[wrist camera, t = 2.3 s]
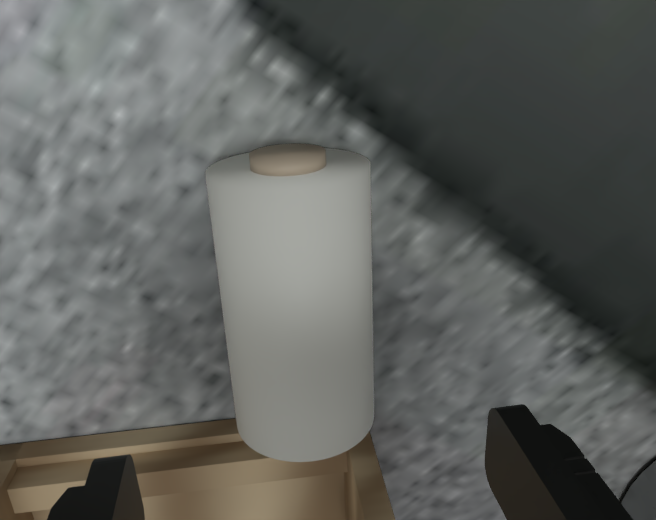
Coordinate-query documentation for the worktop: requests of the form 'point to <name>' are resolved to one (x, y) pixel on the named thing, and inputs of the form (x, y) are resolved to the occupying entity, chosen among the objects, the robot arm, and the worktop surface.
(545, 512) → the robot arm
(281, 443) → the roll
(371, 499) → the holder
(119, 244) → the worktop surface
